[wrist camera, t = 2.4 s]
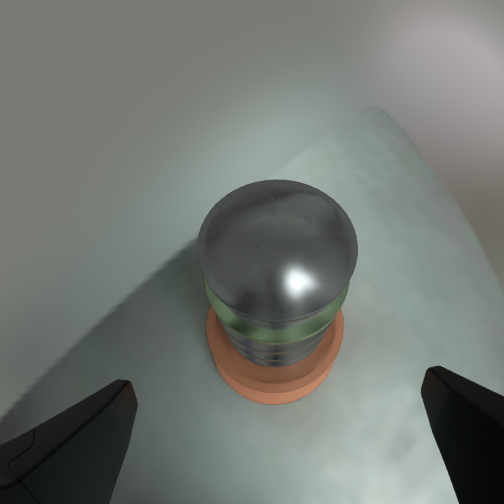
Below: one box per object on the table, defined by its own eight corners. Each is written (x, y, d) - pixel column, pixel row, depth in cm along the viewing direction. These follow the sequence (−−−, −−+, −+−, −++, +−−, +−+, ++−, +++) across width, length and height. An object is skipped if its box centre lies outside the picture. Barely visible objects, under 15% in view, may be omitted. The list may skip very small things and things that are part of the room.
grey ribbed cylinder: (327, 367, 14) (376, 317, 7) (226, 371, 14) (185, 325, 7) (318, 276, 16) (346, 174, 10) (227, 280, 16) (199, 180, 10)
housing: (337, 400, 17) (358, 393, 13) (214, 404, 18) (195, 400, 13) (327, 288, 21) (341, 251, 17) (216, 293, 22) (202, 256, 17)
